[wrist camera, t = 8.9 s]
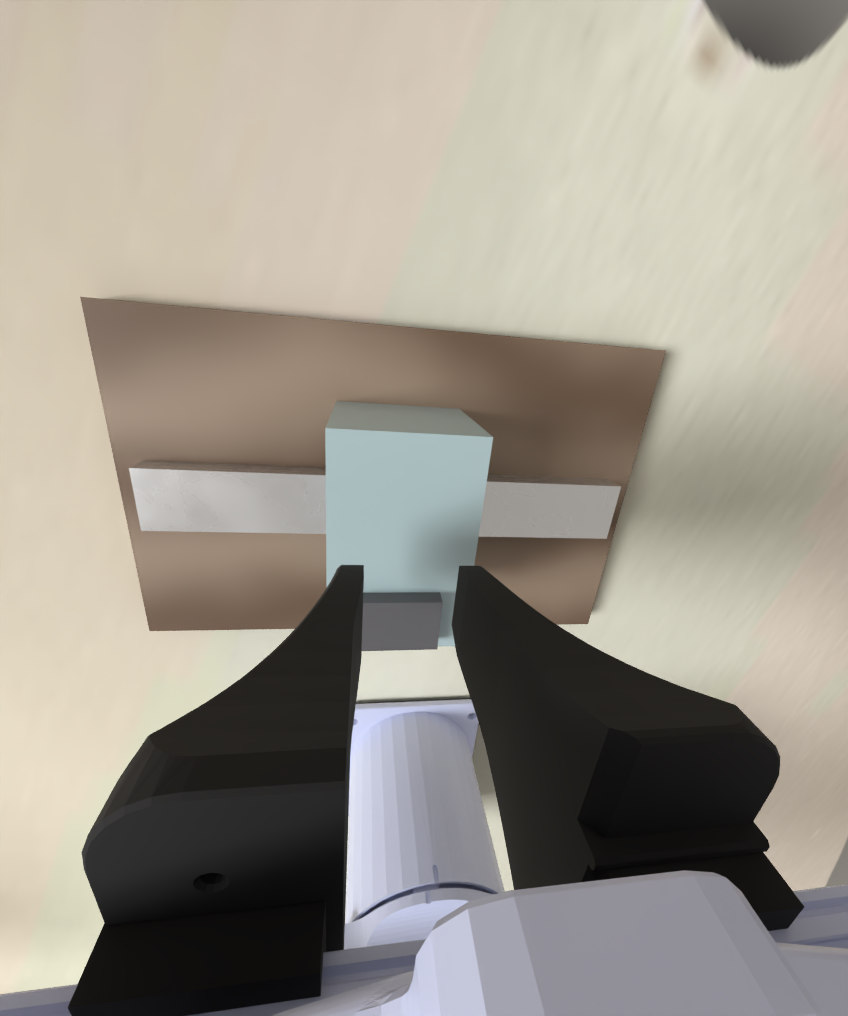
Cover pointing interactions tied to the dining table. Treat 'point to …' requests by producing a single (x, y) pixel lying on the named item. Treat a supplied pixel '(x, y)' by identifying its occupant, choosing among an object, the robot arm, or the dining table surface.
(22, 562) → the dining table surface
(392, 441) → the module
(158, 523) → the rail board
